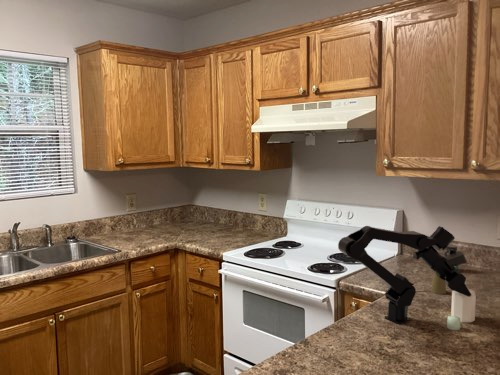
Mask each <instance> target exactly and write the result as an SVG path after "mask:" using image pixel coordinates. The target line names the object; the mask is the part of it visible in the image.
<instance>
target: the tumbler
mask: <svg viewBox="0 0 500 375" xmlns="http://www.w3.org/2000/svg"><path fill="white" fill-rule="evenodd" d="M468 290H469V291H470V293H471V296H470V297H468V296H466V295H464V294H461V293H459V292H456V291H453V290H451V308H450V311H451V312H450V316H457V317H460V318H461V322H460V323H472V322H474V321H475V320H476V318H475V317H476V303H477V302H476V299H477V295H476V292H475V290H473V289H470V288H468Z"/></svg>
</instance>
